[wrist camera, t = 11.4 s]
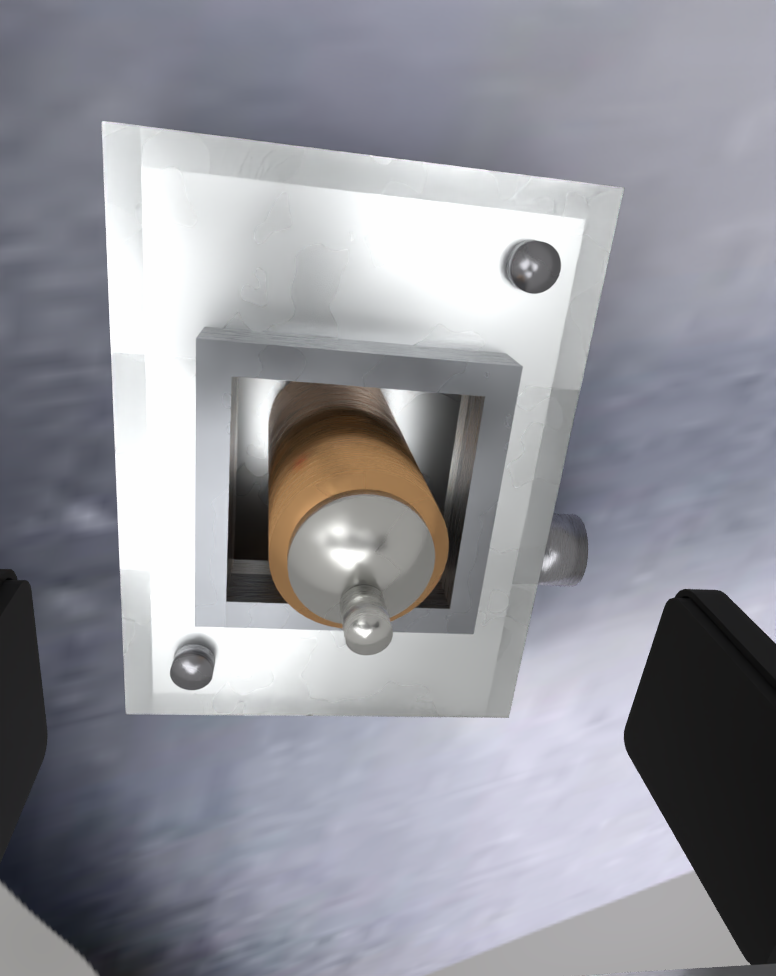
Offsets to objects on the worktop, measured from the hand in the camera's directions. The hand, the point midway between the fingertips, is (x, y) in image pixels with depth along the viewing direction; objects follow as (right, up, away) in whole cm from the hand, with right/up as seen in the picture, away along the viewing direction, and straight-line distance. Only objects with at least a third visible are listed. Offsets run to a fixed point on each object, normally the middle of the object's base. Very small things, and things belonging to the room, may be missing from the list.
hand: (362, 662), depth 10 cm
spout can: (-1, +4, +12) cm, 13 cm away
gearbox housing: (-1, +5, +13) cm, 14 cm away
